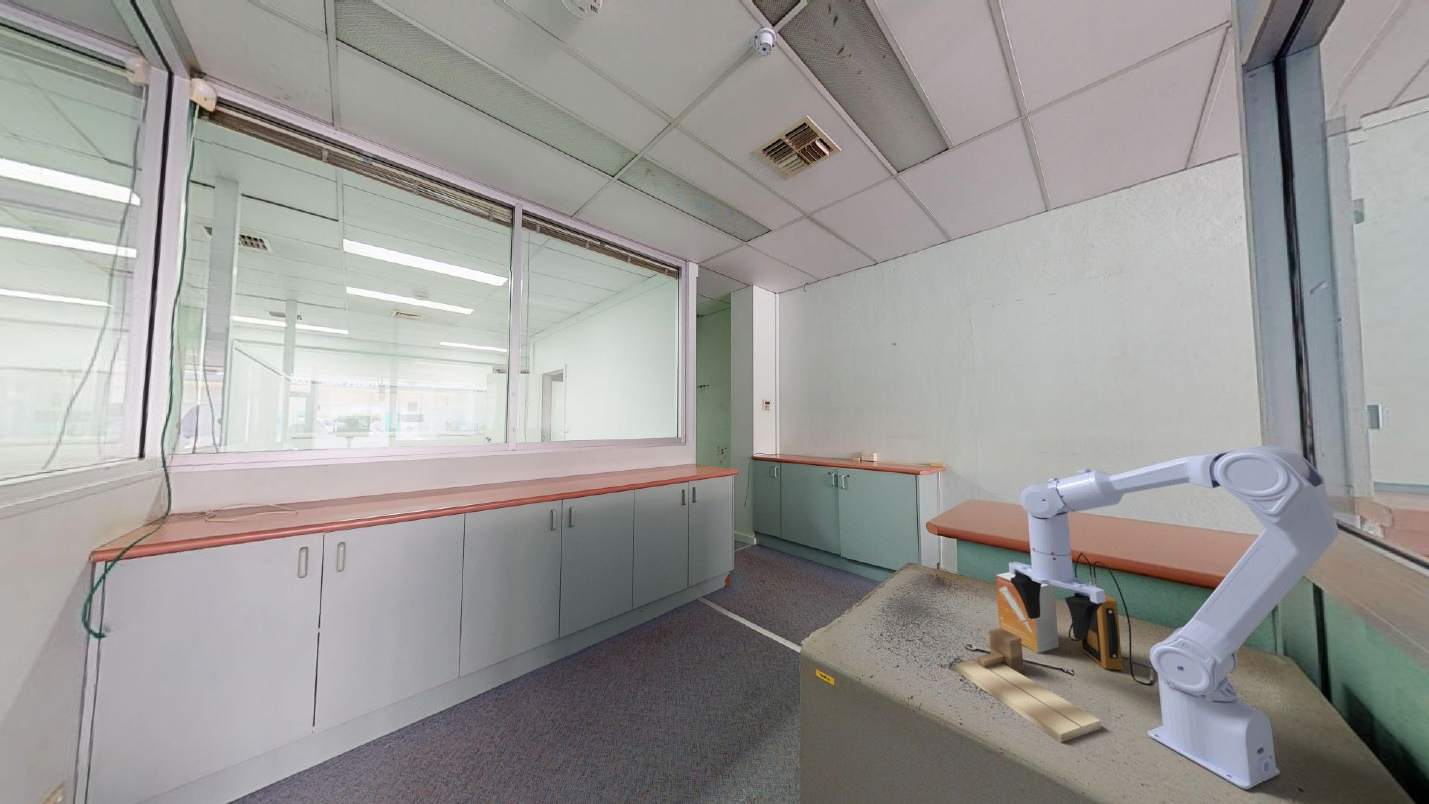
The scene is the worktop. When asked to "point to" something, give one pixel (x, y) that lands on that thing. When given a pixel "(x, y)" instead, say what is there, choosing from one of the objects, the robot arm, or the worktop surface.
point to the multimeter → (1107, 632)
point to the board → (1030, 700)
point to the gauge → (1004, 650)
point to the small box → (1016, 621)
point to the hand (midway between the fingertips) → (1056, 627)
